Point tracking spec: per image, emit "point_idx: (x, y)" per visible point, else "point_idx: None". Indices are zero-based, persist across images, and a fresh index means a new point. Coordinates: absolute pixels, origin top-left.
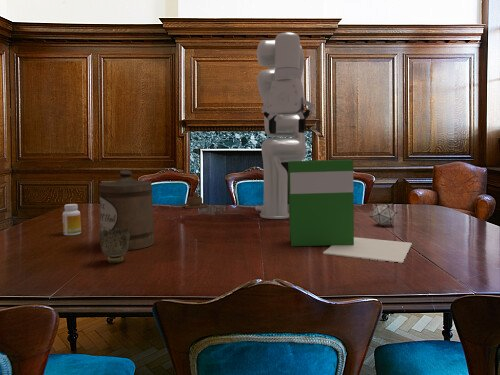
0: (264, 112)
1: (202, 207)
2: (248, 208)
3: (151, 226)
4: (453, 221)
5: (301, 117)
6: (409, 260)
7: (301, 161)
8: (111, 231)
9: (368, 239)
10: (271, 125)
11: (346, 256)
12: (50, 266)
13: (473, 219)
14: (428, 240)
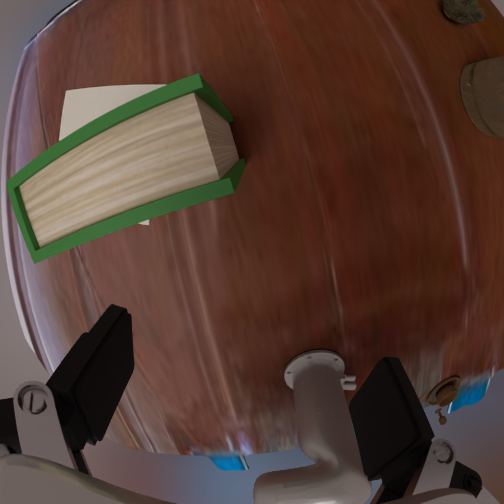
0: (479, 490)
1: (434, 387)
2: None
3: (479, 89)
4: (59, 364)
5: (42, 401)
6: (59, 111)
7: (167, 197)
8: (480, 20)
9: None
10: (403, 403)
11: (130, 85)
12: None
13: (50, 373)
14: None
